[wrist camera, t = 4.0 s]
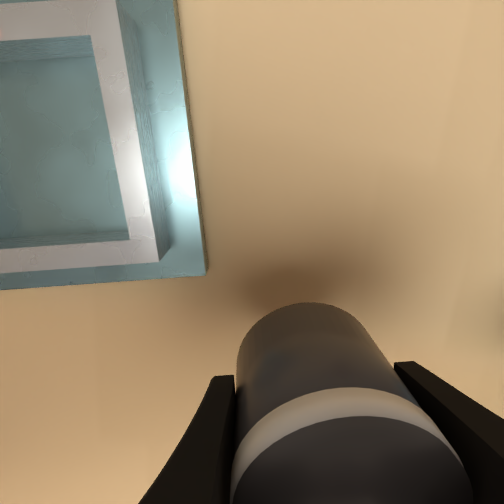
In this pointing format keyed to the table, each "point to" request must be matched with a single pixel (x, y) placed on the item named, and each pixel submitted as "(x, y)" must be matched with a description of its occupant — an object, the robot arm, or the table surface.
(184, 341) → the table surface
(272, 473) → the lens
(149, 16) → the lens mount
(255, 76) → the table surface
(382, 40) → the table surface
